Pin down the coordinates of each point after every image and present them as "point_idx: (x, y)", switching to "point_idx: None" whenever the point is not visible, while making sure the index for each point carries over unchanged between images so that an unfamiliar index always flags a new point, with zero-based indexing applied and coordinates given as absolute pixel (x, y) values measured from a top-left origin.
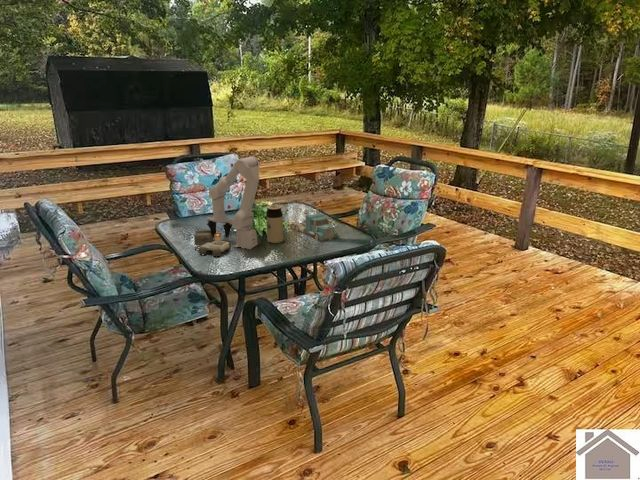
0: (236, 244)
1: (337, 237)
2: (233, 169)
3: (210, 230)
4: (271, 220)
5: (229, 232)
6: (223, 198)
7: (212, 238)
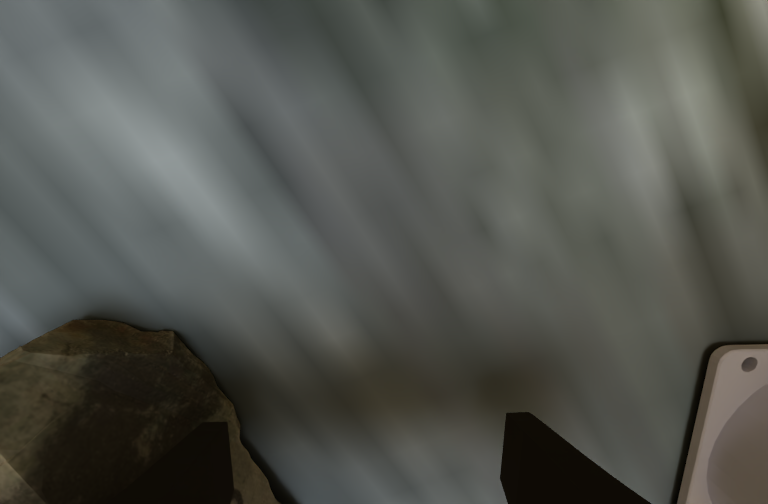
0: (695, 489)
1: None
2: None
3: (4, 482)
4: None
5: (597, 472)
6: None
7: None
